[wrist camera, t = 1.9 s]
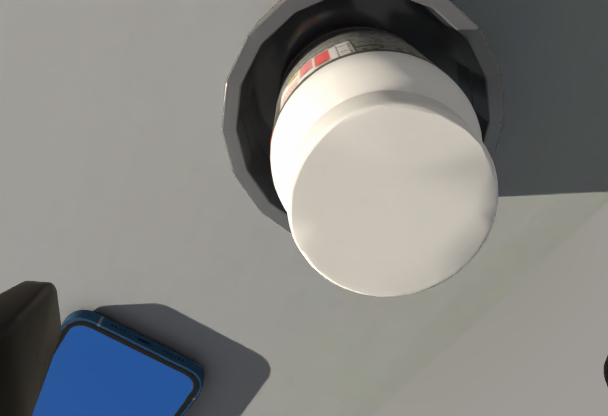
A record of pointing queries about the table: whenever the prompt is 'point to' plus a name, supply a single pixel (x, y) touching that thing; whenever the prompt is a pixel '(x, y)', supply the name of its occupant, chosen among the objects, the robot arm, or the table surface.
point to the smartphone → (115, 373)
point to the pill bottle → (380, 163)
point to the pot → (322, 16)
